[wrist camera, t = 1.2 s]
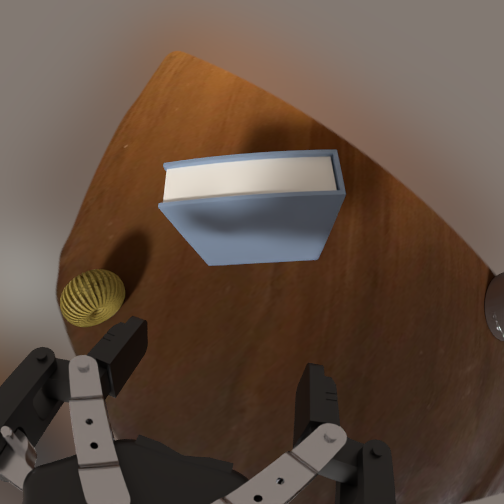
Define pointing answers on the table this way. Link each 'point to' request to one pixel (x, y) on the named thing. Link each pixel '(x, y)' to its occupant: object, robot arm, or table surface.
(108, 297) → the sculpture
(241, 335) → the table surface
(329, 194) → the book
